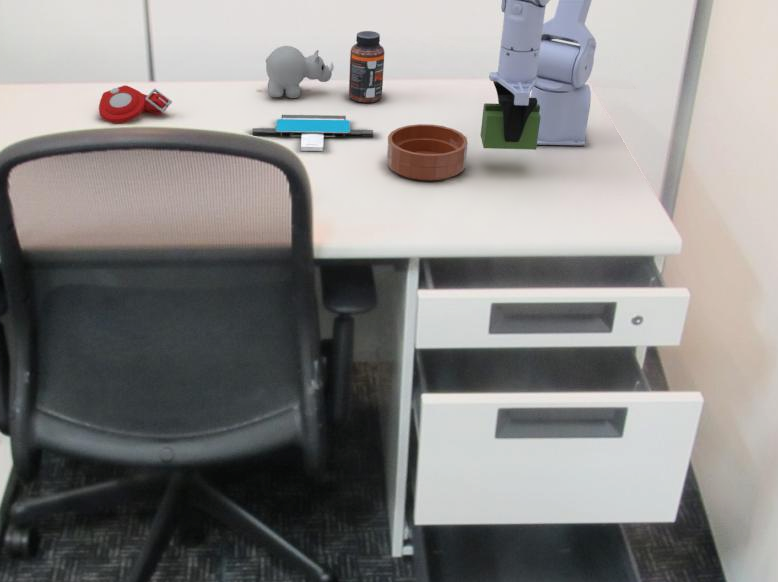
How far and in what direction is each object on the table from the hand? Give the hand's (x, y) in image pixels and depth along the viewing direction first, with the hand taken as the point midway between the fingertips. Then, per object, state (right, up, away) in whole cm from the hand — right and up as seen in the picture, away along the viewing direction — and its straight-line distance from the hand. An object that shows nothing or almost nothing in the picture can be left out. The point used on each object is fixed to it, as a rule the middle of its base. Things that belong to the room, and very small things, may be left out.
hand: (509, 133), depth 172 cm
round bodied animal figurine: (-32, +14, +29) cm, 45 cm away
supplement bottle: (-21, +13, +27) cm, 37 cm away
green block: (0, -1, +1) cm, 1 cm away
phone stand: (-30, +2, +13) cm, 33 cm away
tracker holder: (-61, +8, +20) cm, 65 cm away
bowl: (-12, -4, +4) cm, 14 cm away
